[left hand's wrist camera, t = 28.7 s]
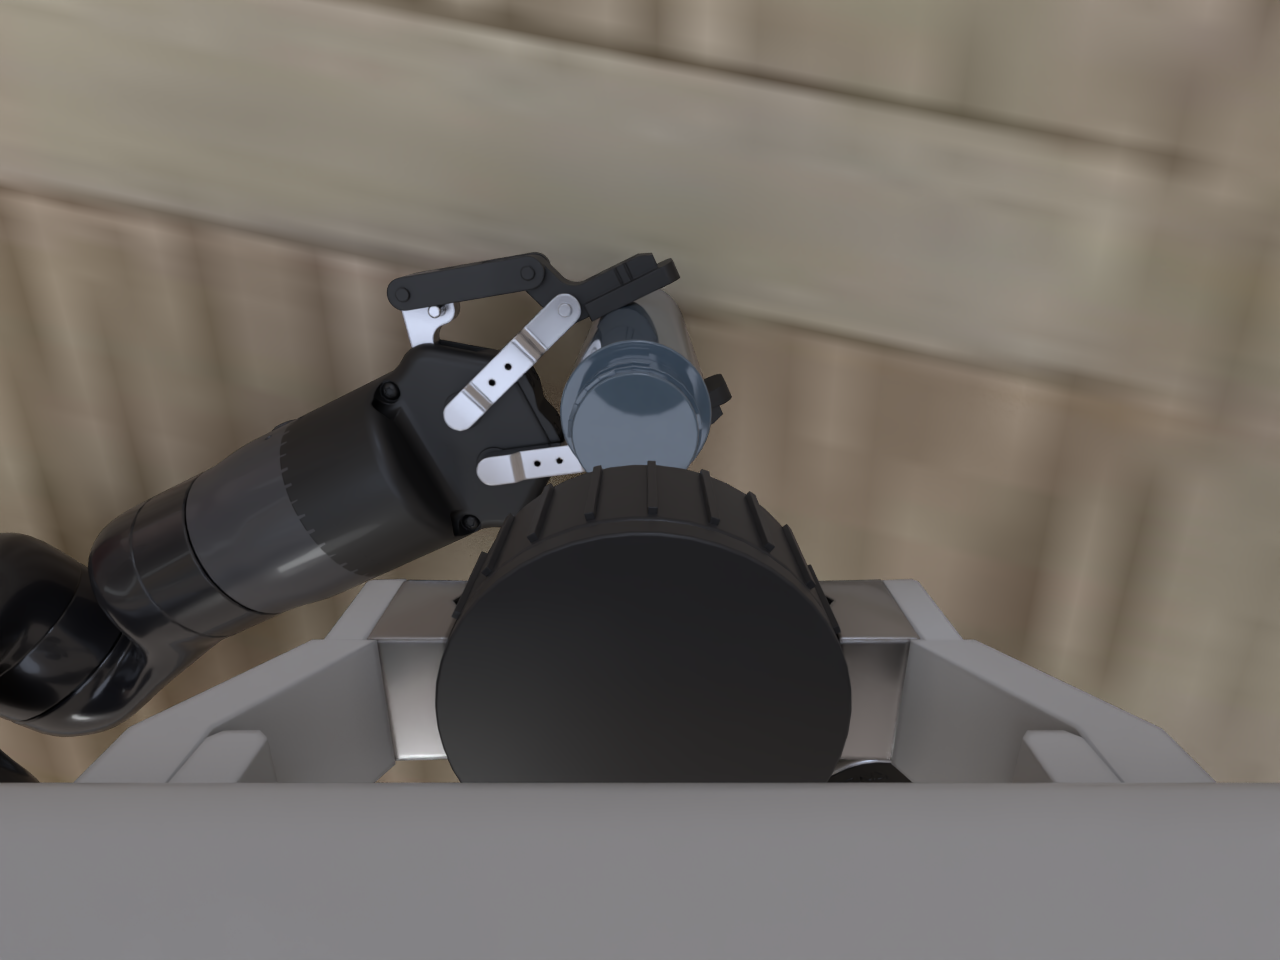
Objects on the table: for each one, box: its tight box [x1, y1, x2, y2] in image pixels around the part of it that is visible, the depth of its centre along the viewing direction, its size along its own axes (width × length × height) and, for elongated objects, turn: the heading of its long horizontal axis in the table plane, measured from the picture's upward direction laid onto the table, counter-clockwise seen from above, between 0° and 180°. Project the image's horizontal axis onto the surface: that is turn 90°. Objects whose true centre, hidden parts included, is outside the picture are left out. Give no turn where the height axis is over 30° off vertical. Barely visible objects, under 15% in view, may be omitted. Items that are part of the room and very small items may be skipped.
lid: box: [435, 461, 852, 783], centre depth 9 cm, size 5×5×2 cm
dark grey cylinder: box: [560, 289, 712, 473], centre depth 27 cm, size 4×4×17 cm
